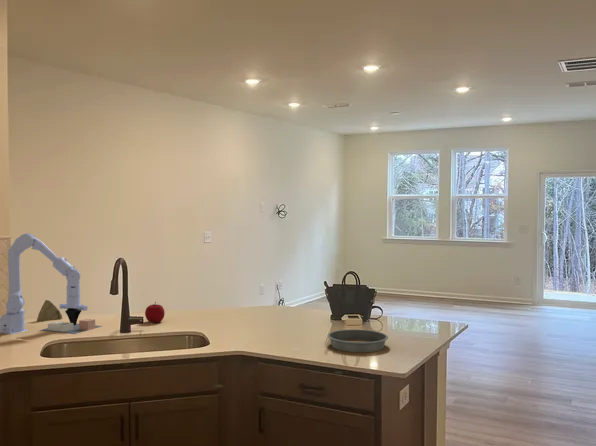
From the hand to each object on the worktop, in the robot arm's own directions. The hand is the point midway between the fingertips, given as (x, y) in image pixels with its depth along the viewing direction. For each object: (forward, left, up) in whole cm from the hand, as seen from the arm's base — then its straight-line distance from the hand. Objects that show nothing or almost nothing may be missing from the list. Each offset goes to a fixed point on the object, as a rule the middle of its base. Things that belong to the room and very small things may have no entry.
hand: (73, 325), depth 257 cm
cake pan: (+19, -129, -2) cm, 130 cm away
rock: (+10, +24, -2) cm, 26 cm away
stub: (0, -8, -1) cm, 8 cm away
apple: (+27, -25, -2) cm, 37 cm away
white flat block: (-6, +2, -1) cm, 6 cm away
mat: (-2, -1, -2) cm, 2 cm away
